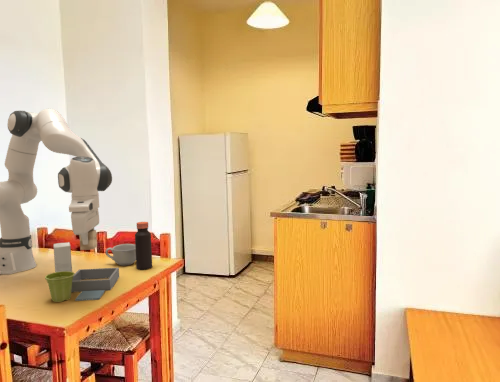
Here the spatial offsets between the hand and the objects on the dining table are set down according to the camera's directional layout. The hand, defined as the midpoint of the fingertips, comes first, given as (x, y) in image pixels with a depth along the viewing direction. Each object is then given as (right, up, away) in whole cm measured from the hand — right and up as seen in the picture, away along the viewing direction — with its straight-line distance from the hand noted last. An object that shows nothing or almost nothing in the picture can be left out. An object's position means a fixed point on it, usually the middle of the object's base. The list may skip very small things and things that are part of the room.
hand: (88, 242), depth 148 cm
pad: (0, -19, +2) cm, 20 cm away
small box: (-21, -17, +27) cm, 38 cm away
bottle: (+11, -16, +36) cm, 41 cm away
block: (0, -2, 0) cm, 2 cm away
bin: (-3, -18, +15) cm, 23 cm away
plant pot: (-9, -20, 0) cm, 22 cm away
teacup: (-1, -15, +43) cm, 45 cm away
